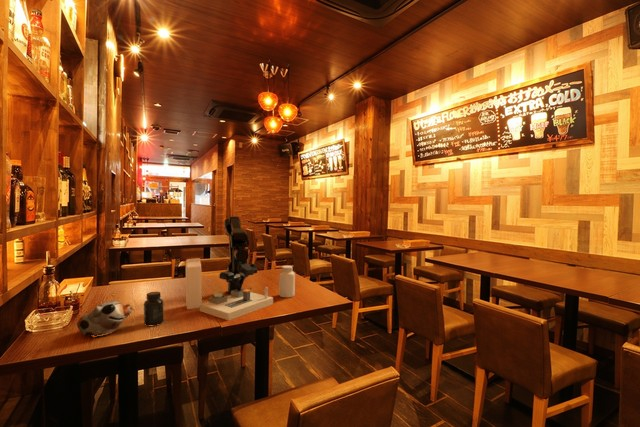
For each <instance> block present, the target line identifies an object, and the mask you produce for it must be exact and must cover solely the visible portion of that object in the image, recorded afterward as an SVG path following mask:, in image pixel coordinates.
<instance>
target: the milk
mask: <svg viewBox="0 0 640 427" xmlns="http://www.w3.org/2000/svg"><path fill="white" fill-rule="evenodd" d="M185 262H186V263H185V306H186V308H187V310H193V309H200V304H203V302H202V301H203V299H202V297H203V295H202V294H203V293H202V290H203V289H202V262H201V258H200V257H199V258H197V257H195V258H187V259H186V260H185Z"/></svg>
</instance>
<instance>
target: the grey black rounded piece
mask: <svg viewBox="0 0 640 427" xmlns="http://www.w3.org/2000/svg"><path fill="white" fill-rule="evenodd" d="M133 310H134V309H133V307H132V306H131V305H130V304H125V305H124V304H123V303H122V302H120V301H112V300H111V301H106V302H103V303H101V304H99V305H96V306H95V307H94V309H93V310H91V311H90V312H89V313H86V314H83V315H82V316H80V318H79V319H78V321H77V322H76V327H77V329H78V330H79V332H80V333H82V334H83V335H84V336H89V337H91V335H94V336H97V335H102V334H106V333H110V332H112V333H113V332H115V331H116V330H117V329H118V328H119V326H120V325H122V323H123V322H124V320H126V319H127V318H128V317H129V316H130V315H131V314H132V312H133Z"/></svg>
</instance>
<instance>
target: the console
mask: <svg viewBox="0 0 640 427" xmlns="http://www.w3.org/2000/svg"><path fill="white" fill-rule="evenodd" d="M268 289H269V287H267V286H265V287H264V295H263V294H259V293H255V292H251V291H250V300H248V301H245V300H243V291H241V292H235V290H232V291H231V294H229V295H224V294H223V297H221V298H214V295H211V296H209V301H206V302H202V304H200V308H199V312H201V313H205V314H208V315H210V316H213V317H216V318H220V319H223V320H226V321H227V322H228V321H232V320H234V319H236V318H239V317H242V316H245V315H247V314H248V315H249V314H250V313H253V312H255V311H258V310H261V309H264V308H266V307H269V306H271V305H274V297H272V296H269V292H268V291H269V290H268ZM236 290H237V289H236ZM241 290H246V288H245V289H244V288H241Z"/></svg>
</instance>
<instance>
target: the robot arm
mask: <svg viewBox="0 0 640 427" xmlns="http://www.w3.org/2000/svg"><path fill="white" fill-rule="evenodd" d="M241 222H242V221H241V218H240V217H239V216H235V215H234V216H229V217H228V218H226V219H224V221H223V229H225V231H224V232H225V234H226V235H227V236H228V246H229V248H228V249H229V251H228V252H229V265H228V266H227V270H226V271H221V272H219V276H218V277H219V278H218V279H220V280H224V281H226V283H227V290H226V291H225V293H226V294H229V295H231V291H232V290H236V289H237V290H238V291H240V290H241V289H242V287H243V284H244V281H245V279H247V278H248V277H249V276H252V275H254V274H258V269H257V264H256V263H251V264H249V263H248V259H249V252H248V250H246V248H249V245H250V238H249V235H248V234H247V233H246V230H244V229H242V223H241Z"/></svg>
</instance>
